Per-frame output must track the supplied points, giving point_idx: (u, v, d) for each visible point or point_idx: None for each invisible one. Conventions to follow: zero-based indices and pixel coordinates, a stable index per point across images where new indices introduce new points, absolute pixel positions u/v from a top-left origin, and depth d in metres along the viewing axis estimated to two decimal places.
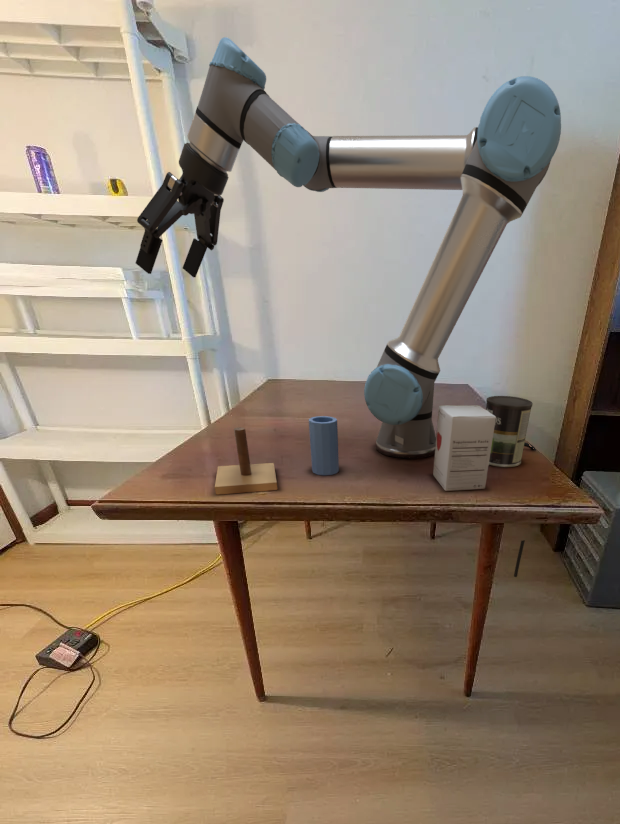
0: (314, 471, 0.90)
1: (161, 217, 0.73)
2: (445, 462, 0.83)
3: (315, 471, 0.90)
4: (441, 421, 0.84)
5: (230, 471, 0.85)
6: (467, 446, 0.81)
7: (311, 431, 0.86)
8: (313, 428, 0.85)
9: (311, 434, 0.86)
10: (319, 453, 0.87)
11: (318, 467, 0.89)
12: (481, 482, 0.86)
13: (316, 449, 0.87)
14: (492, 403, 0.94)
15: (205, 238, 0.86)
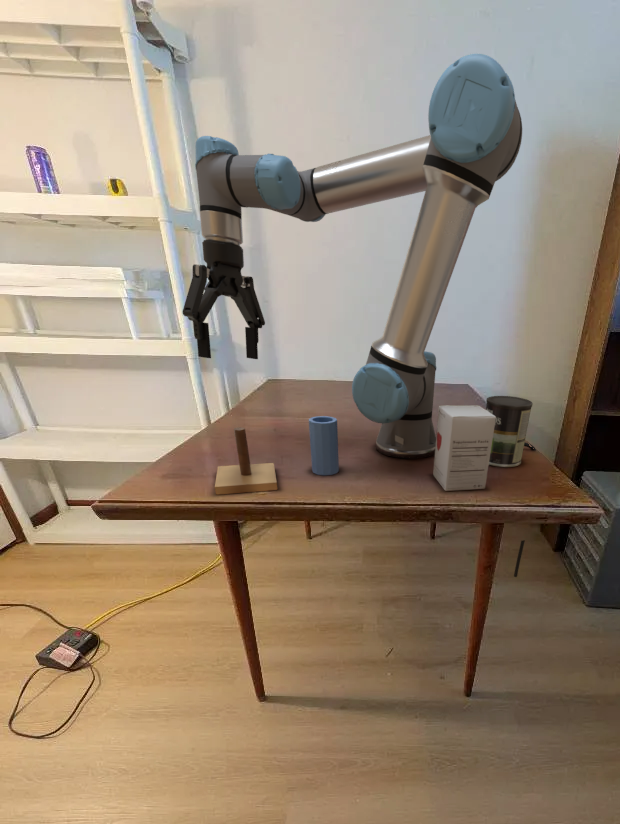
0: (314, 471, 0.90)
1: (197, 300, 0.82)
2: (445, 462, 0.83)
3: (315, 471, 0.90)
4: (441, 421, 0.84)
5: (230, 471, 0.85)
6: (467, 446, 0.81)
7: (311, 431, 0.86)
8: (313, 428, 0.85)
9: (311, 434, 0.86)
10: (319, 453, 0.87)
11: (318, 467, 0.89)
12: (481, 482, 0.86)
13: (316, 449, 0.87)
14: (492, 403, 0.94)
15: (251, 319, 0.95)
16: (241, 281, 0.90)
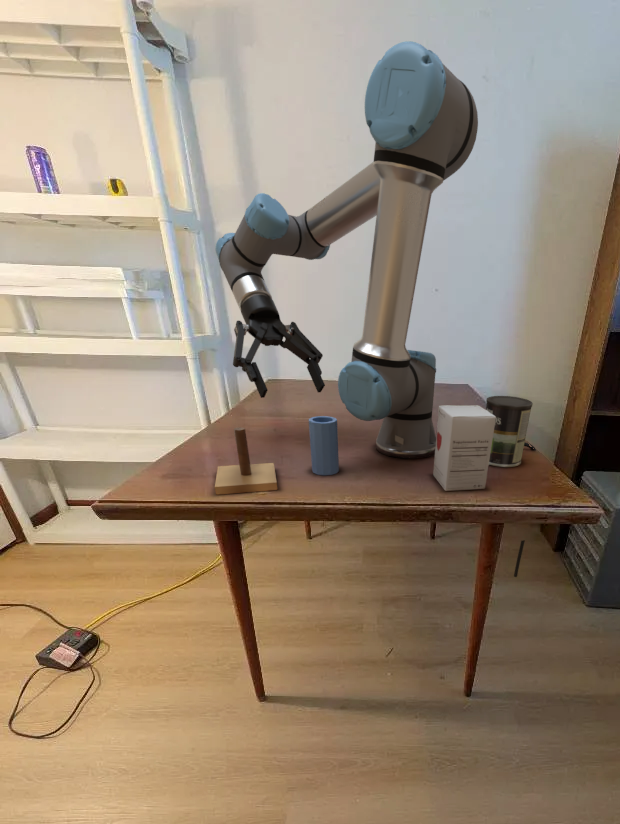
0: (314, 471, 0.90)
1: (239, 346, 0.87)
2: (445, 462, 0.83)
3: (315, 471, 0.90)
4: (441, 421, 0.84)
5: (230, 471, 0.85)
6: (467, 446, 0.81)
7: (311, 431, 0.86)
8: (313, 428, 0.85)
9: (311, 434, 0.86)
10: (319, 453, 0.87)
11: (318, 467, 0.89)
12: (481, 482, 0.86)
13: (316, 449, 0.87)
14: (492, 403, 0.94)
15: (306, 354, 0.95)
16: (283, 326, 0.94)
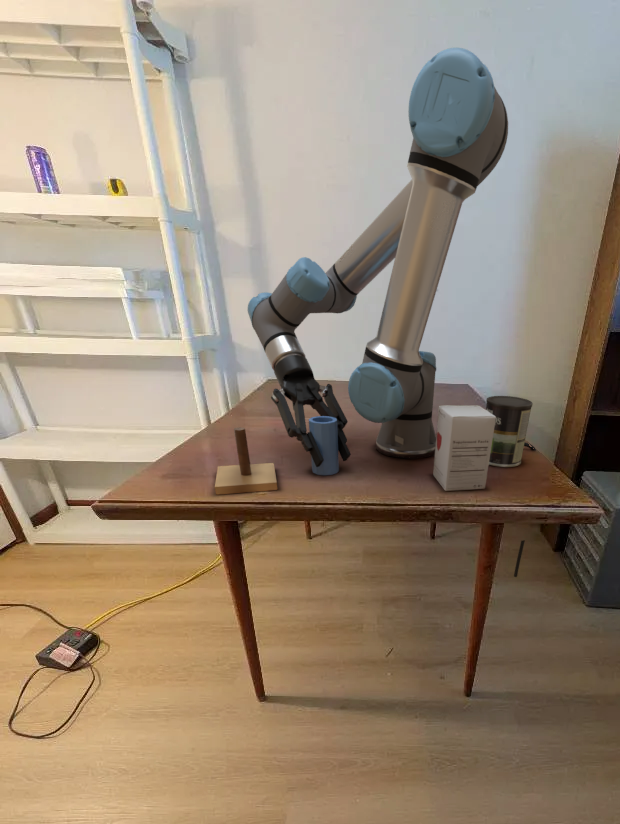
0: (314, 471, 0.90)
1: (289, 417, 0.85)
2: (445, 462, 0.83)
3: (315, 471, 0.90)
4: (441, 421, 0.84)
5: (230, 471, 0.85)
6: (467, 446, 0.81)
7: (311, 431, 0.86)
8: (313, 428, 0.85)
9: None
10: None
11: (318, 467, 0.89)
12: (481, 482, 0.86)
13: None
14: (492, 403, 0.94)
15: None
16: (316, 385, 0.91)
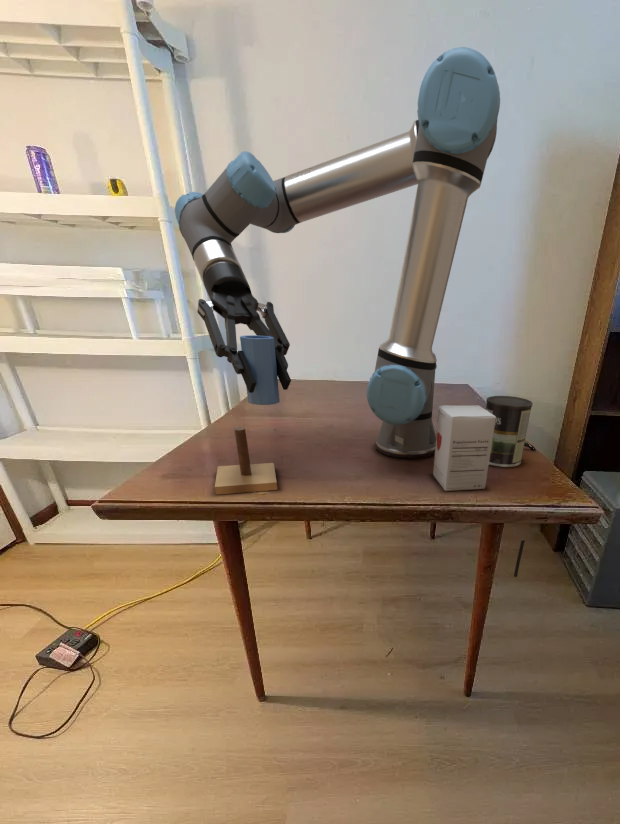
0: (249, 400, 0.78)
1: (216, 331, 0.73)
2: (445, 462, 0.83)
3: (250, 400, 0.78)
4: (441, 421, 0.84)
5: (230, 471, 0.85)
6: (467, 446, 0.81)
7: (242, 350, 0.74)
8: (244, 345, 0.73)
9: None
10: None
11: (253, 395, 0.77)
12: (481, 482, 0.86)
13: None
14: (492, 403, 0.94)
15: None
16: (254, 302, 0.79)
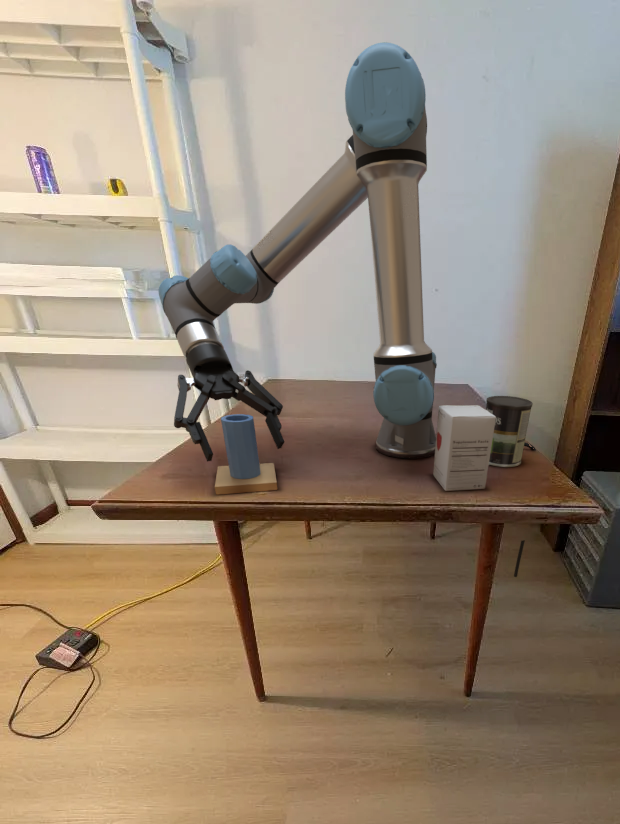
0: (231, 474, 0.82)
1: (180, 405, 0.75)
2: (445, 462, 0.83)
3: (232, 474, 0.82)
4: (441, 421, 0.84)
5: None
6: (467, 446, 0.81)
7: (224, 431, 0.78)
8: (225, 427, 0.77)
9: (224, 434, 0.78)
10: (234, 454, 0.79)
11: (234, 470, 0.81)
12: (481, 482, 0.86)
13: (230, 450, 0.79)
14: (492, 403, 0.94)
15: (262, 406, 0.84)
16: (235, 377, 0.83)
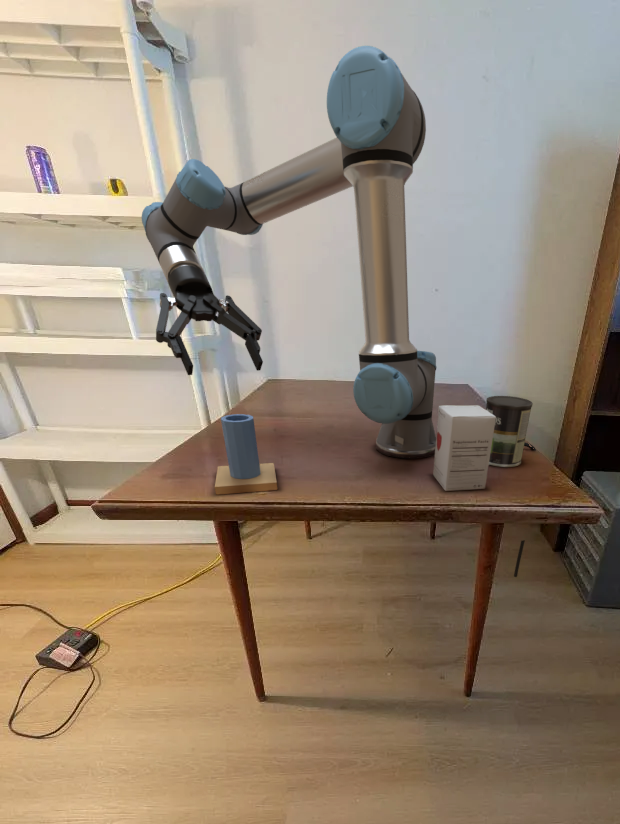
0: (231, 474, 0.82)
1: (161, 320, 0.79)
2: (445, 462, 0.83)
3: (232, 474, 0.82)
4: (441, 421, 0.84)
5: None
6: (467, 446, 0.81)
7: (224, 431, 0.78)
8: (225, 427, 0.77)
9: (224, 434, 0.78)
10: (234, 454, 0.79)
11: (234, 470, 0.81)
12: (481, 482, 0.86)
13: (230, 450, 0.79)
14: (492, 403, 0.94)
15: (242, 329, 0.88)
16: (216, 300, 0.87)
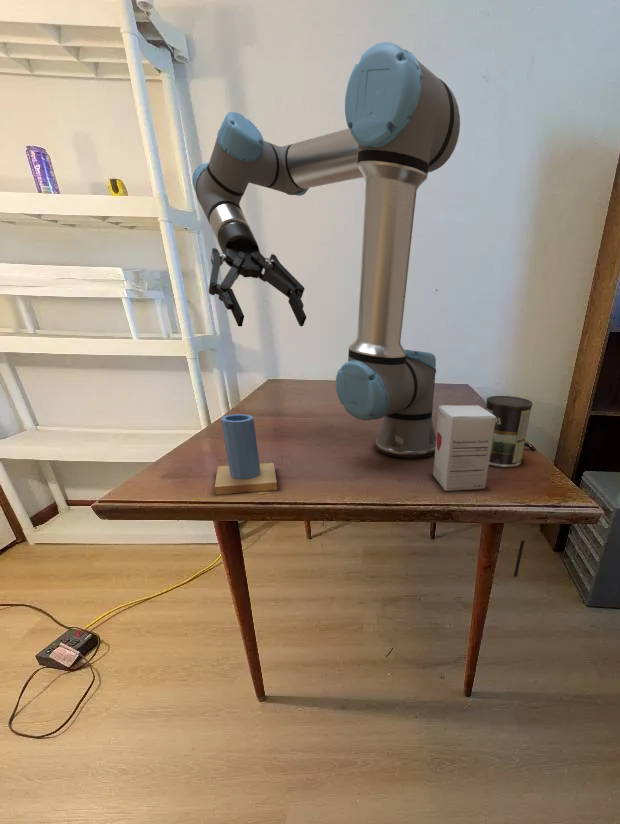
0: (231, 474, 0.82)
1: (214, 272, 0.84)
2: (445, 462, 0.83)
3: (232, 474, 0.82)
4: (441, 421, 0.84)
5: None
6: (467, 446, 0.81)
7: (224, 431, 0.78)
8: (225, 427, 0.77)
9: (224, 434, 0.78)
10: (234, 454, 0.79)
11: (234, 470, 0.81)
12: (481, 482, 0.86)
13: (230, 450, 0.79)
14: (492, 403, 0.94)
15: (286, 286, 0.92)
16: (262, 258, 0.91)
